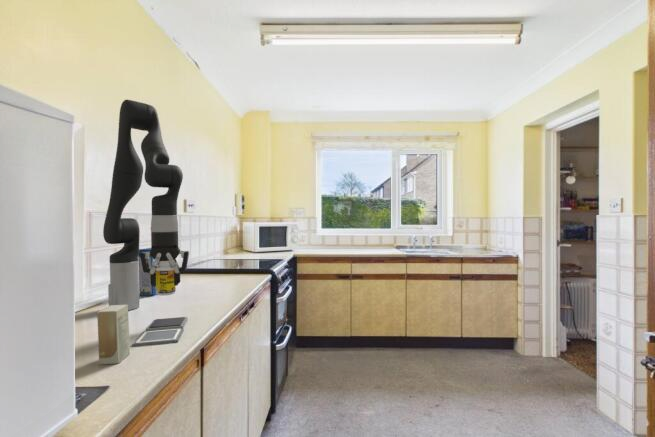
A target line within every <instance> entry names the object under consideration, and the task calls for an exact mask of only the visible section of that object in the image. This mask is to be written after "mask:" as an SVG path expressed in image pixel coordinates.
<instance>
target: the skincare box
mask: <svg viewBox="0 0 655 437" xmlns="http://www.w3.org/2000/svg"><path fill="white" fill-rule="evenodd" d="M96 314H97V336H98V337H97V340H98V341H97V342H98V360H99V361H98V362H99V364H98V365H117V364H119V363H121V362H122V361H123V360H124V359H126V358H127V357H128V356H129V355H130V350H131V348H130V325H129V324H130V323H129V322H130V321H129V310H128V305H110V306H109V305H108V306H106V307H104V308H103V309H101V310H99V311H97V313H96Z"/></svg>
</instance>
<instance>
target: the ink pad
mask: <svg viewBox="0 0 655 437" xmlns="http://www.w3.org/2000/svg"><path fill="white" fill-rule="evenodd" d="M187 322H188V316H180V317H166V318H156V319H153V320H152V321H151V322H150V324H149V325H148V326H147V327H146V328H145V332H146V331H157V330H169V329H184V328H185V326H186V324H187Z"/></svg>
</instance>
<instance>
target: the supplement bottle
mask: <svg viewBox="0 0 655 437" xmlns="http://www.w3.org/2000/svg"><path fill="white" fill-rule="evenodd" d="M158 266H159V267H157V268H156V270H155V271H156V294H157V295H156V296H171V295H174V294H175V293H176V286H175V275H174V274H175V271H174V269H173V267H172V266H171V264H170V261H159V263H158Z"/></svg>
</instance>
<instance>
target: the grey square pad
mask: <svg viewBox="0 0 655 437" xmlns="http://www.w3.org/2000/svg"><path fill="white" fill-rule="evenodd" d="M184 331H185V329H184V328H183V329H169V330H157V331H146V330H145V331H142V332H141V333H140V335H139V336H138V337H137V338H136V340H134V341H133V343H132V346H131V347H140V346H151V345H152V346H153V345H160V344H162V345H163V344H172V343H179V340H180V338H181V337H182V334H183V333H184Z"/></svg>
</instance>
